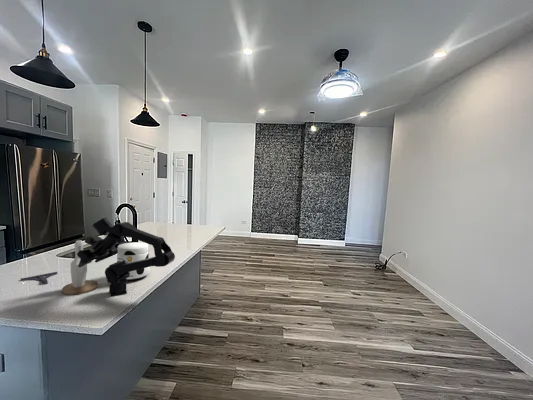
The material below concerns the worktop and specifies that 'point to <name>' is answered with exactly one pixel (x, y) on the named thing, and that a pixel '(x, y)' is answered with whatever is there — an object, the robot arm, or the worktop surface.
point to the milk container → (134, 257)
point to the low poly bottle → (76, 272)
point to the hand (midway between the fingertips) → (87, 264)
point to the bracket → (40, 277)
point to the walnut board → (80, 288)
